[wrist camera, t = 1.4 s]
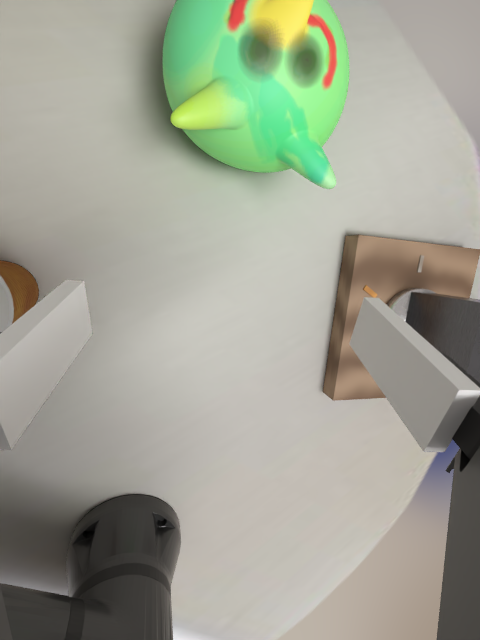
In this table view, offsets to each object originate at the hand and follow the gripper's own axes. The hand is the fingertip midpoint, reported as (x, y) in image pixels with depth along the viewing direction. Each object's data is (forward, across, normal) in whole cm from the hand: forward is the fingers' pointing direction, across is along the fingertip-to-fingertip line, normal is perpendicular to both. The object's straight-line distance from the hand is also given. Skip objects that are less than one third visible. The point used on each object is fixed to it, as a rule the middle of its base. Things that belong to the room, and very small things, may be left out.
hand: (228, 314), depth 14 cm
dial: (+25, -29, +13) cm, 40 cm away
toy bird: (+31, -1, -11) cm, 32 cm away
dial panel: (+28, -28, +14) cm, 42 cm away
